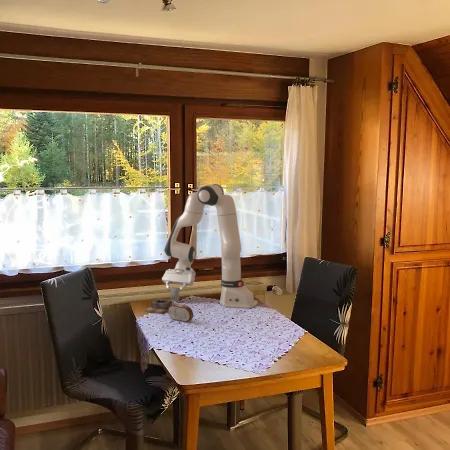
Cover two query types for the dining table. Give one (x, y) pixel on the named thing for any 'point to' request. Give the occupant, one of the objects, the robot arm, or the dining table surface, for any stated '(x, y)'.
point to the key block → (174, 294)
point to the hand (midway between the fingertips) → (174, 289)
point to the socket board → (159, 306)
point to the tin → (180, 312)
